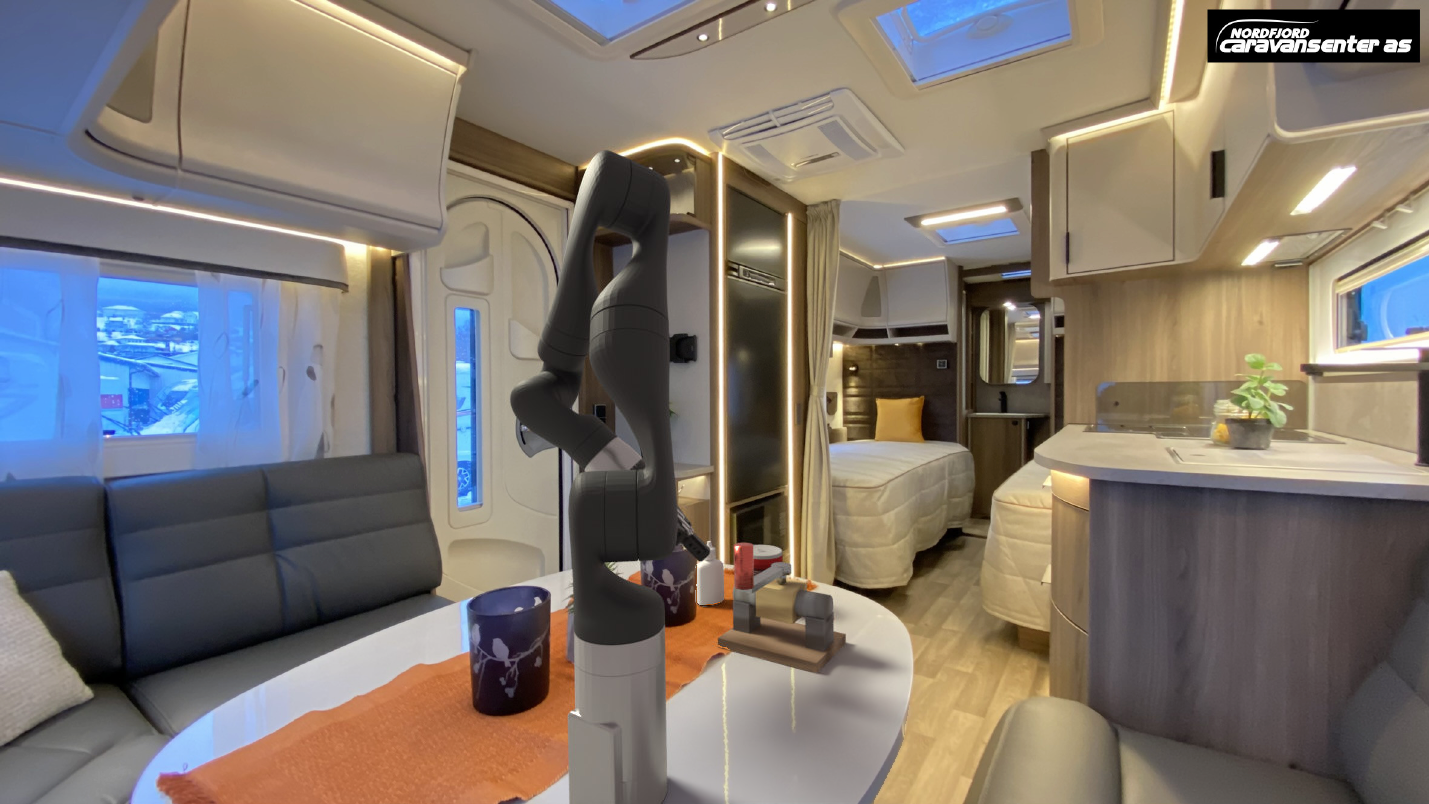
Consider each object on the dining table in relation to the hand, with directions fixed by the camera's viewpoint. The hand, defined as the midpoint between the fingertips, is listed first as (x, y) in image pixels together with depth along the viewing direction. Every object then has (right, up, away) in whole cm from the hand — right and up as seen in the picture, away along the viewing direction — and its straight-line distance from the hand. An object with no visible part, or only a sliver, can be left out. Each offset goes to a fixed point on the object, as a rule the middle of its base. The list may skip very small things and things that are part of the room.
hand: (706, 556), depth 87 cm
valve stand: (+12, -16, +8) cm, 22 cm away
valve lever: (+9, -6, +3) cm, 11 cm away
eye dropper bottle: (0, -16, +27) cm, 32 cm away
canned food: (+10, -16, +24) cm, 31 cm away
